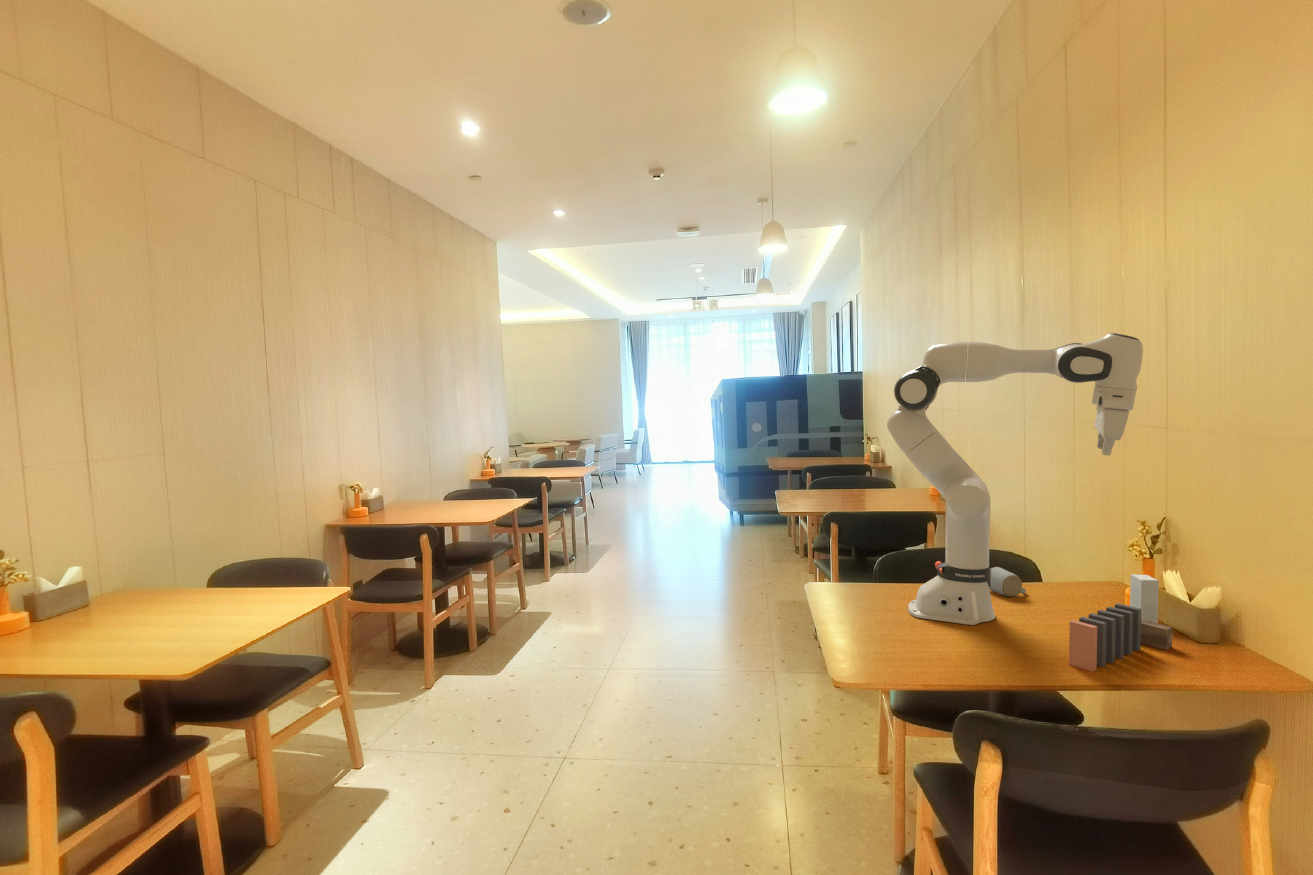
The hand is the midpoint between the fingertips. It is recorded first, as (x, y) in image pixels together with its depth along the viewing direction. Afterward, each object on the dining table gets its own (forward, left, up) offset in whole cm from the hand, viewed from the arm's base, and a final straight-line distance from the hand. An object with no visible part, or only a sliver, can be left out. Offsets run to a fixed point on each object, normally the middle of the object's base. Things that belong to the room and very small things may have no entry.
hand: (1103, 451), depth 169 cm
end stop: (+6, -8, -46) cm, 48 cm away
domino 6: (+2, -13, -46) cm, 48 cm away
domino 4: (-4, -20, -46) cm, 51 cm away
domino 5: (-1, -16, -46) cm, 49 cm away
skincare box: (+12, +9, -47) cm, 49 cm away
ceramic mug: (-17, +27, -47) cm, 57 cm away
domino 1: (-12, -29, -46) cm, 56 cm away
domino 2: (-9, -26, -46) cm, 54 cm away
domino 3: (-6, -23, -46) cm, 52 cm away
